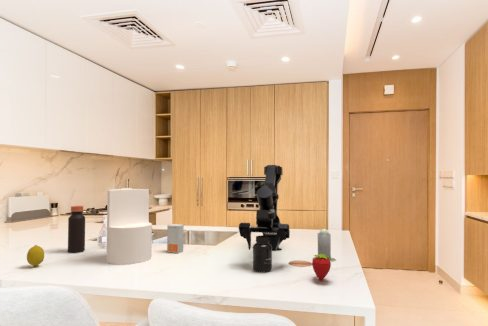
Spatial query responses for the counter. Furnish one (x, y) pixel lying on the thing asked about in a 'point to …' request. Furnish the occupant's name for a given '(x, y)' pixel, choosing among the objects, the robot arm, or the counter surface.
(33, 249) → the lemon
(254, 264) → the supplement bottle
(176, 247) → the skincare box
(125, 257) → the white stepped holder
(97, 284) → the counter surface
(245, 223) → the robot arm
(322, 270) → the strawberry
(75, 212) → the vinegar
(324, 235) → the grey tube
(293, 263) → the card
